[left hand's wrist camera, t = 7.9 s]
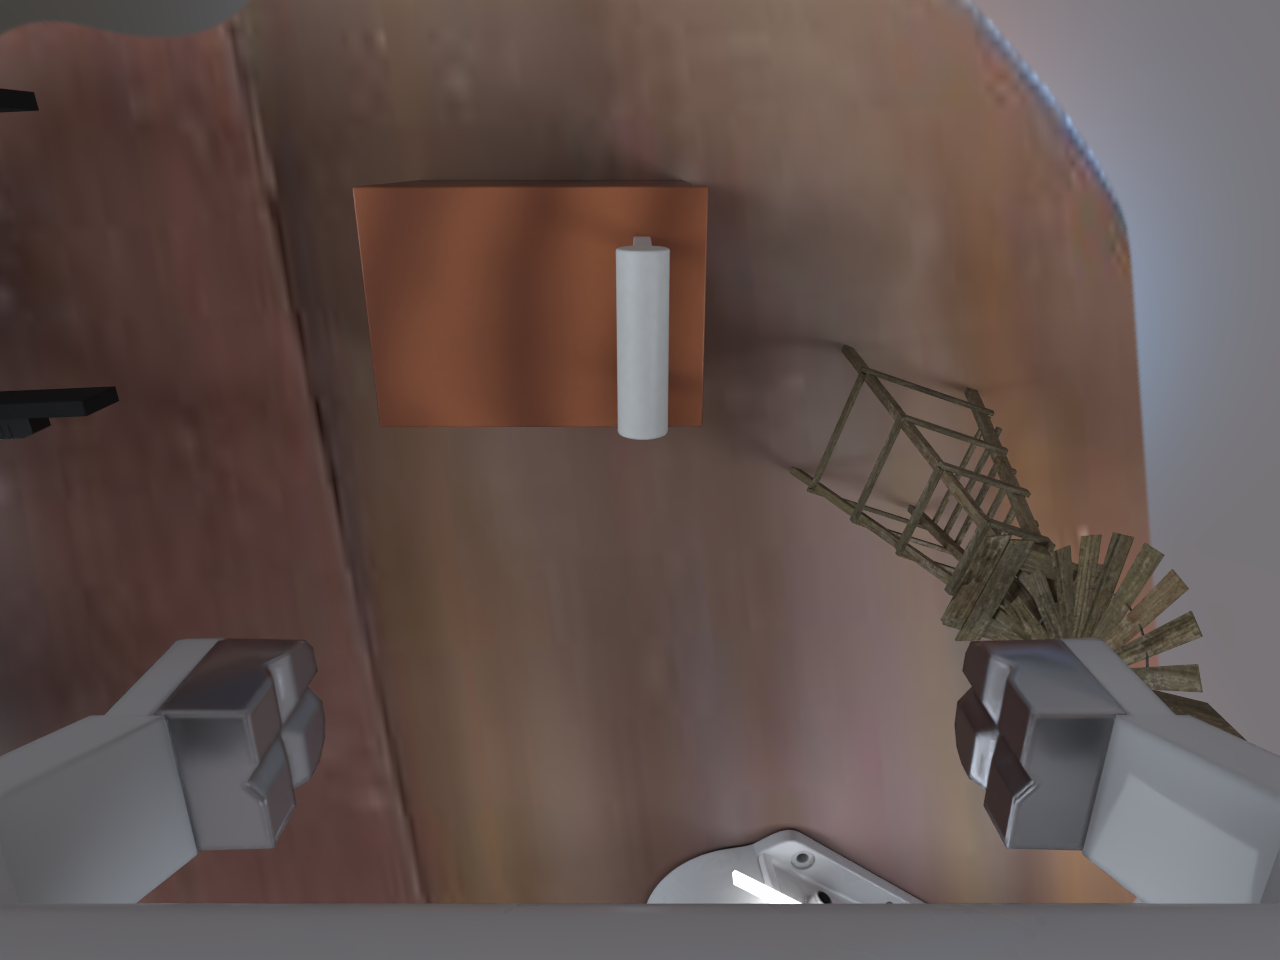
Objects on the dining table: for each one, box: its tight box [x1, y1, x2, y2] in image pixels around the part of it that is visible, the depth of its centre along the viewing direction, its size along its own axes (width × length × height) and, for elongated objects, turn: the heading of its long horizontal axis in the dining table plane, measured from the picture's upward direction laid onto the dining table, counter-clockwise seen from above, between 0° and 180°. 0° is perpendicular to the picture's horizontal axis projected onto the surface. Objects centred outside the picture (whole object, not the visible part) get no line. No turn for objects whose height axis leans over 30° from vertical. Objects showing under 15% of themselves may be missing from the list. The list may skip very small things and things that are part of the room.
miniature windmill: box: [790, 345, 1246, 741], centre depth 35 cm, size 9×8×30 cm
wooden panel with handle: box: [352, 186, 709, 440], centre depth 33 cm, size 14×10×9 cm
